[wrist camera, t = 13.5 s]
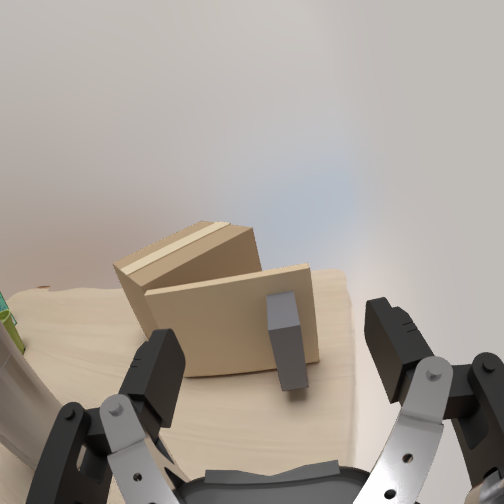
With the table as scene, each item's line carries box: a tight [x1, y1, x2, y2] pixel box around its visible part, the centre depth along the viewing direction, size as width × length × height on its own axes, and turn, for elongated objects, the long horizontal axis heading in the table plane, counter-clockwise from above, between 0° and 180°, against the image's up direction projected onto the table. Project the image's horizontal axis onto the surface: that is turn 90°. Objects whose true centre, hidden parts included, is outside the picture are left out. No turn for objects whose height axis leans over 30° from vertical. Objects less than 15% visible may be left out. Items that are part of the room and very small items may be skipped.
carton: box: [113, 221, 262, 339], centre depth 38 cm, size 16×12×13 cm
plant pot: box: [0, 309, 25, 354], centre depth 37 cm, size 9×9×9 cm
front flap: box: [144, 263, 319, 391], centre depth 25 cm, size 16×6×12 cm, turn 89°
